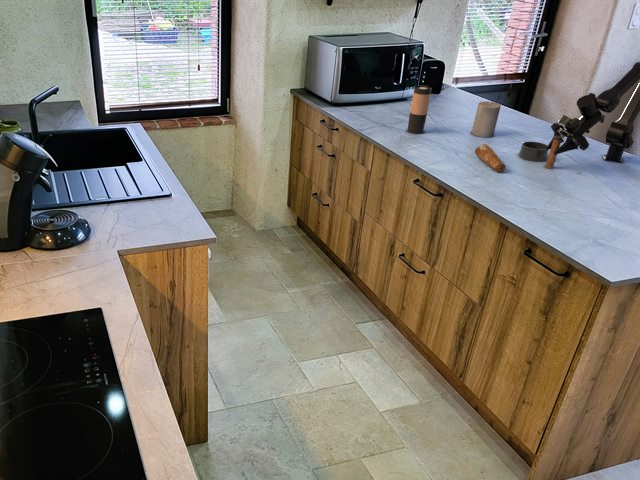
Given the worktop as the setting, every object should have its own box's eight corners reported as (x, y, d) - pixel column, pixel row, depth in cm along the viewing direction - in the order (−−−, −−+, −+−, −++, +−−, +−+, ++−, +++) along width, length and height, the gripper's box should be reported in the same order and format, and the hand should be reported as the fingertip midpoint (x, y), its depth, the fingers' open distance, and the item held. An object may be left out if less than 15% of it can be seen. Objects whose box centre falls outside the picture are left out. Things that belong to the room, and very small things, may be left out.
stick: (545, 165, 240) (554, 135, 233) (552, 166, 239) (562, 136, 232) (545, 167, 238) (554, 137, 231) (552, 168, 237) (562, 138, 230)
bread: (487, 156, 248) (490, 143, 245) (506, 173, 232) (510, 159, 229) (472, 156, 247) (475, 143, 244) (490, 173, 231) (494, 159, 228)
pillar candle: (482, 130, 279) (490, 97, 271) (498, 136, 272) (506, 102, 263) (466, 132, 275) (474, 99, 267) (482, 138, 268) (490, 105, 260)
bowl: (519, 151, 254) (522, 140, 251) (545, 155, 250) (549, 143, 248) (518, 159, 246) (521, 147, 243) (545, 163, 242) (549, 151, 240)
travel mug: (405, 132, 273) (413, 88, 263) (408, 128, 279) (415, 84, 268) (422, 134, 271) (430, 90, 260) (424, 130, 277) (433, 86, 266)
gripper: (562, 102, 234) (528, 130, 238) (592, 115, 218) (555, 145, 223) (574, 121, 239) (540, 148, 244) (604, 135, 224) (568, 164, 228)
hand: (550, 151), depth 234 cm, fingers open, 5 cm apart
